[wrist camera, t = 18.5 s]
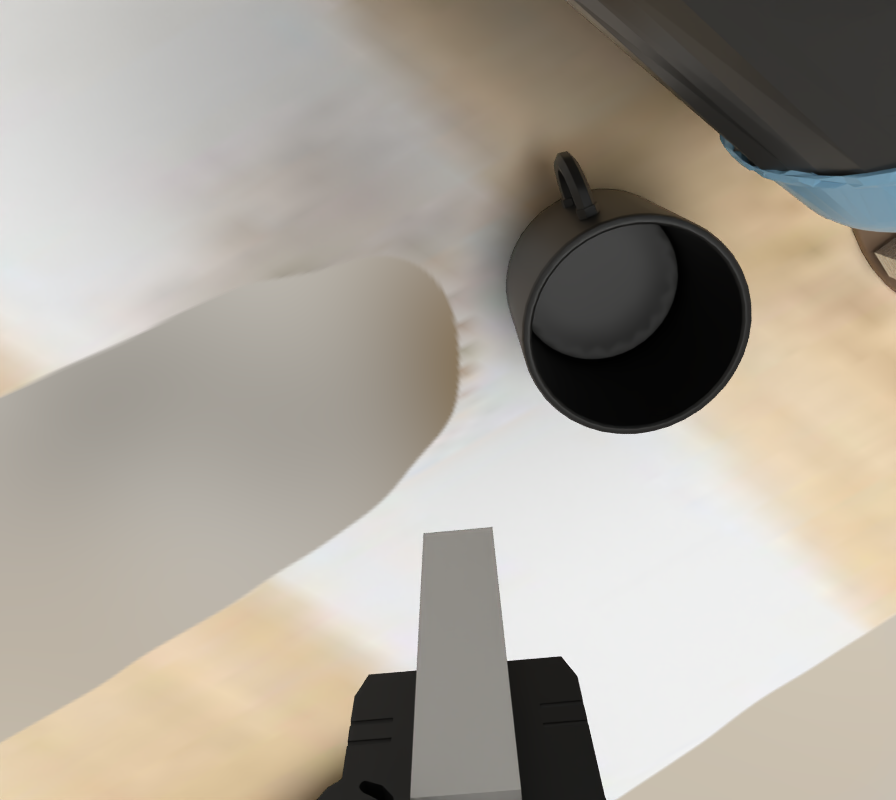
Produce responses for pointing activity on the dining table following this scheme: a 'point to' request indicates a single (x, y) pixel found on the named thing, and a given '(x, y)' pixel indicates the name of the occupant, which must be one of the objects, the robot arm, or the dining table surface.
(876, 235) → the sprocket base
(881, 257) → the sprocket
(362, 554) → the dining table surface
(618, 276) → the mug
